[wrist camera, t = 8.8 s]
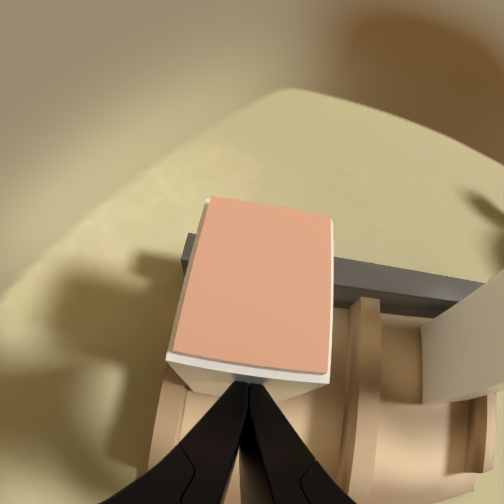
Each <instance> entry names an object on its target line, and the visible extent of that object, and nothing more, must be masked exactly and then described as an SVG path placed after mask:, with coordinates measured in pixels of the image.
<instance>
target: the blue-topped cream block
mask: <svg viewBox="0 0 504 504" xmlns="http://www.w3.org/2000/svg"><path fill="white" fill-rule="evenodd" d="M421 340H422V369H423V396H422V405H423V404H436V403H447V402H457V401H465V400H470V399H474V398H478V397H482V396H485V395H489V394H492V393H496V392H499V391H502V390H504V269H503V270H501V271H500V272H499V273H498V274H496V275H495V276H494V277H492V278H491V279H490V280H488V281H487V282H486V283H485V284H483V285H482V286H481V287H479V288H478V289H476V290H475V291H474V292H472V293H471V294H470V295H468V296H467V297H465V298H464V299H463V300H461V301H460V302H458V303H457V304H455V305H454V306H452V307H451V308H449V309H448V310H446V311H445V312H443V313H442V314H440V315H439V316H437V317H436V318H434V319H433V320H431V321H430V322H428V323H426V324H425V325H423V326H422V327H421Z"/></svg>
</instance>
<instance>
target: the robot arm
mask: <svg viewBox="0 0 504 504" xmlns="http://www.w3.org/2000/svg"><path fill="white" fill-rule="evenodd" d="M238 450H239V476H240V499H241V504H357V503H356V502H355V501H353V500H352V499H351V498H350V497H349V496H348V495H347V494H346V493H345V492H344V491H343V490H342V489H341V488H340V487H339V486H338V485H337V484H336V483H335V482H334V480H333V479H332V478H331V477H330V476H329V474H328V473H327V472H326V471H325V470H324V468H323V467H322V466H321V464H320V463H319V462H318V461H317V460H316V458H315V457H314V455H313V454H312V453H311V451H310V450H309V449H308V447H307V446H306V445H305V443H304V442H303V441H302V439H301V438H300V436H299V435H298V434H297V432H296V431H295V429H294V428H293V427H292V425H291V424H290V423H289V421H288V420H287V418H286V417H285V415H284V414H283V413H282V411H281V410H280V408H279V407H278V406H277V404H276V403H275V401H274V400H273V398H272V397H271V395H270V394H269V392H268V391H267V390H266V388H265V387H264V385H262V384H256V383H249V385H248V383H247V382H241V381H234V382H233V383H232V384H231V385H230V386H229V387H228V388H227V389H226V391H225V392H224V393H223V394H222V395H221V396H220V398H219V399H218V400H217V401H216V402H215V403H214V404H213V406H212V407H211V408H210V409H209V410H208V411H207V412H206V413H205V414H204V416H203V417H202V418H201V419H200V420H199V421H198V422H197V423H196V424H195V426H194V427H193V428H192V429H191V430H190V431H189V432H188V433H187V434H186V435H185V436H184V437H183V439H182V440H181V441H180V442H179V443H178V445H176V446H175V447H174V448H173V449H172V450H171V451H170V452H169V453H168V454H167V455H166V456H165V457H164V458H163V459H162V460H161V461H160V462H159V463H157V464H156V465H155V466H154V467H152V468H151V469H150V470H149V471H147V472H146V473H145V474H143V475H142V476H141V477H139V478H138V479H136V480H135V481H133V482H132V483H131V484H129V485H128V486H126V487H125V488H123V489H122V490H120V491H119V492H117V493H116V494H114V495H113V496H111V497H110V498H108V499H106V500H105V501H103V502H101V503H98V504H224V501H225V498H226V494H227V491H228V487H229V484H230V480H231V477H232V473H233V470H234V466H235V462H236V459H237V455H238Z"/></svg>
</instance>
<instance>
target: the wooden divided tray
mask: <svg viewBox="0 0 504 504" xmlns="http://www.w3.org/2000/svg"><path fill="white" fill-rule="evenodd" d="M195 237H196V234H192V233H188V236H187V240H186V243H185V247H184V250H183V254H182V257H181V262H182V267H183V272H184V277H185V274H186V271H187V267H188V263H189V259H190V255H191V252H192V248H193V244H194V241H195ZM333 258H334V278H333V326H332V349H331V366H330V381H329V384H327V385H325V386H322V387H320V388H317V389H314V390H312V391H309V392H306V393H304V394H301V395H298V396H295V397H292V398H289V399H286V400H283V401H280V402H277V403H276V404H277V406H278V407H279V408H280V410H281V411H282V413H283V414H284V415H285V417H286V418H287V420H288V421H289V423H290V424H291V425H292V427H293V428H294V429H295V431H296V432H297V434H298V435H299V436H300V438H301V439H302V441H303V442H304V443H305V445H306V446H307V447H308V449H309V450H310V451H311V453H312V454H313V455H314V457H315V458H316V460H317V461H318V462H319V463H320V464H321V466H322V467H323V468H324V470H325V471H326V472H327V473H328V474H329V476H330V477H331V478H332V479H333V480H334V482H335V483H336V484H337V485H338V486H339V487H340V488H341V489H342V490H343V491H344V492H345V493H346V494H347V495H348V496H349V497H350V498H351V499H352V500H353V501H355V502H356V503H357V504H433V503H436V502H440V501H443V500H447V499H450V498H453V497H456V496H459V495H462V494H465V493H468V492H471V491H473V490H474V483H475V476H476V473H484V472H487V471H490V470H492V469H493V461H494V450H495V437H496V393H492V394H489V395H485V396H482V397H478V398H474V399H470V400H465V401H457V402H447V403H436V404H423V405H422V396H423V369H422V340H421V327H422V326H423V325H425V324H426V323H428V322H430V321H431V320H433V319H434V318H436V317H437V316H439V315H440V314H442V313H443V312H445V311H446V310H448V309H449V308H451V307H452V306H454V305H455V304H457V303H458V302H460V301H461V300H463V299H464V298H465V297H467V296H468V295H470V294H471V293H472V292H474V291H475V290H476V289H478V288H479V287H481V286H482V285H483V284H485V283H481V282H475V281H469V280H464V279H458V278H453V277H447V276H442V275H436V274H430V273H425V272H419V271H413V270H408V269H402V268H396V267H390V266H385V265H379V264H373V263H367V262H362V261H356V260H350V259H344V258H338V257H333ZM219 398H220V397H219V396H213V395H208V394H202V393H197V392H194V391H193V390H192V389H191V388H190V387H189V386H188V385H187V384H186V383H185V382H184V381H183V379H182V378H181V377H180V376H179V375H178V374H177V373H176V372H175V371H174V369H173V368H172V367H171V366H170V365H169V364H168V363H166V368H165V373H164V378H163V383H162V388H161V393H160V398H159V403H158V409H157V414H156V419H155V425H154V431H153V437H152V442H151V448H150V455H149V461H148V468H147V471H149V470H150V469H151V468H152V467H154V466H155V465H156V464H157V463H159V462H160V461H161V460H162V459H163V458H164V457H165V456H166V455H167V454H168V453H169V452H170V451H171V450H172V449H173V448H174V447H175V446H176V445H178V443H179V442H180V441H181V440H182V439H183V437H184V436H185V435H186V434H187V433H188V432H189V431H190V430H191V429H192V428H193V427H194V426H195V424H196V423H197V422H198V421H199V420H200V419H201V418H202V417H203V416H204V414H205V413H206V412H207V411H208V410H209V409H210V408H211V407H212V406H213V404H214V403H215V402H216V401H217V400H218V399H219ZM224 504H241V499H240V476H239V450H238V455H237V459H236V462H235V466H234V470H233V473H232V477H231V480H230V484H229V487H228V491H227V494H226V498H225V501H224Z"/></svg>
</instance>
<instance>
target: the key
mask: <svg viewBox="0 0 504 504" xmlns="http://www.w3.org/2000/svg"><path fill="white" fill-rule="evenodd" d="M333 278H334V258H333V220H331V216H327V215H321V214H316V213H311V212H305V211H300V210H294V209H289V208H283V207H277V206H272V205H266V204H260V203H254V202H247V201H241V200H235V199H228V198H222V197H215V196H211V199H206V202H205V205H204V209H203V212H202V216H201V219H200V223H199V226H198V230H197V233H196V237H195V241H194V244H193V248H192V252H191V255H190V259H189V263H188V267H187V271H186V274H185V278H184V282H183V286H182V290H181V294H180V298H179V302H178V307H177V311H176V315H175V319H174V323H173V328H172V332H171V337H170V341H169V345H168V350H167V355H166V359H165V360H166V361H167V363H168V364H169V365H170V366H171V367H172V368H173V369H174V371H175V372H176V373H177V374H178V375H179V376H180V377H181V378H182V379H183V381H184V382H185V383H186V384H187V385H188V386H189V387H190V388H191V389H192V390H193V391H194V392H197V393H202V394H208V395H213V396H219V397H220V396H221V395H222V394H223V393H224V392H225V391H226V389H227V388H228V387H229V386H230V385H231V384H232V383H233V382H234V381H241V382H247V383H248V385H249V383H256V384H262V385H264V387H265V388H266V390H267V391H268V392H269V394H270V395H271V397H272V398H273V400H274V401H275V403H277V402H280V401H283V400H286V399H289V398H292V397H295V396H298V395H301V394H304V393H306V392H309V391H312V390H314V389H317V388H320V387H322V386H325V385H327V384H329V381H330V366H331V349H332V326H333Z"/></svg>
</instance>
